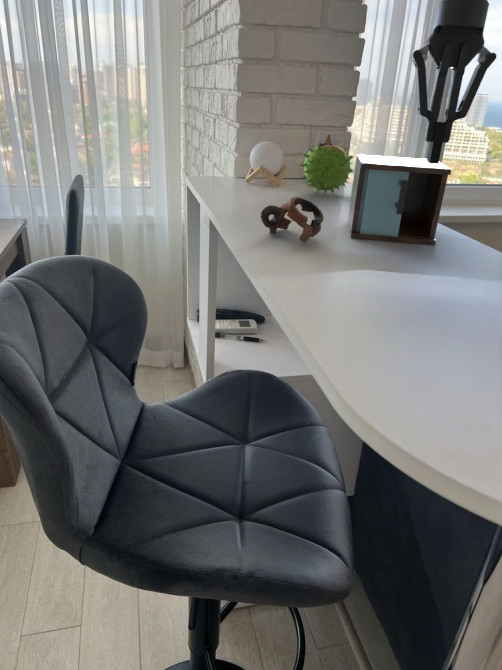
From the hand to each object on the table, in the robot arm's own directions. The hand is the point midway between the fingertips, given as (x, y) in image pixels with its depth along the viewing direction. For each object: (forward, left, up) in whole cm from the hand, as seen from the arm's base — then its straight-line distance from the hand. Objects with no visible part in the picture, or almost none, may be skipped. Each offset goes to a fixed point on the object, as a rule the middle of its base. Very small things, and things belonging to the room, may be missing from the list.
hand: (432, 162), depth 87 cm
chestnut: (+17, -48, -16) cm, 54 cm away
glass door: (+6, -3, -15) cm, 16 cm away
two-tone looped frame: (+24, -1, -16) cm, 28 cm away
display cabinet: (+4, -11, -15) cm, 20 cm away
